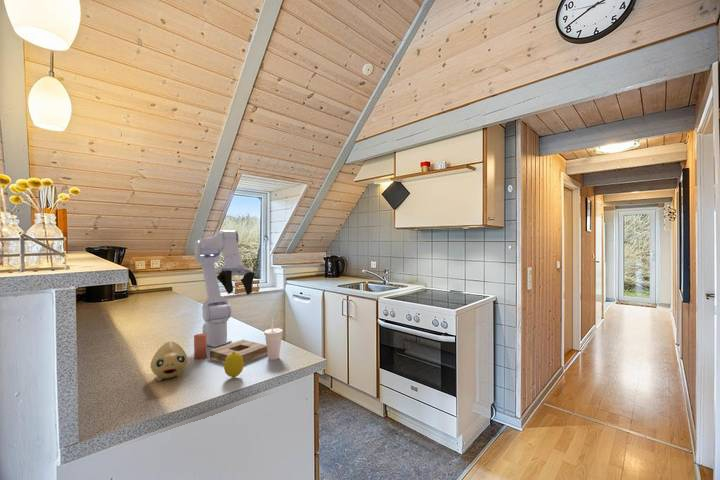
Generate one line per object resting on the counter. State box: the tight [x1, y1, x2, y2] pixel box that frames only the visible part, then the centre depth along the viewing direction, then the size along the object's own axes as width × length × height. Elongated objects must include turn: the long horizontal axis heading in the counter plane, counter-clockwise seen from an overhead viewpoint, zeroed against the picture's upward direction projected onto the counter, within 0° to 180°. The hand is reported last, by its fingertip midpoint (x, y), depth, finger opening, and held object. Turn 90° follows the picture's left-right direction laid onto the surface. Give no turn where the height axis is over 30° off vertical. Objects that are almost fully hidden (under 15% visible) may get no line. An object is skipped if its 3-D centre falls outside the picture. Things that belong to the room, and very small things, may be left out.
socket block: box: [209, 339, 268, 364], centre depth 117 cm, size 14×14×3 cm
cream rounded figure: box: [149, 341, 189, 381], centre depth 99 cm, size 10×12×11 cm
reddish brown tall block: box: [193, 333, 208, 361], centre depth 116 cm, size 4×4×8 cm
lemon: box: [223, 352, 245, 379], centre depth 98 cm, size 6×6×8 cm
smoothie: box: [263, 318, 284, 361], centre depth 115 cm, size 6×6×14 cm
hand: (240, 292), depth 112 cm, fingers open, 7 cm apart
